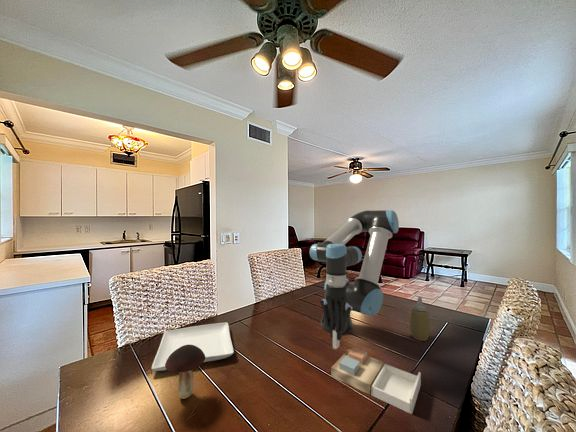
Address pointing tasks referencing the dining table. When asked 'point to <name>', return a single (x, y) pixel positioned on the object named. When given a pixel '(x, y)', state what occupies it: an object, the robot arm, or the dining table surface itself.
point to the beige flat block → (359, 373)
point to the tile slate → (349, 365)
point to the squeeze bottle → (420, 321)
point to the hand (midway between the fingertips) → (336, 346)
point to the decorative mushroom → (185, 367)
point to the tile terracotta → (358, 355)
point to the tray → (397, 387)
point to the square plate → (196, 343)
